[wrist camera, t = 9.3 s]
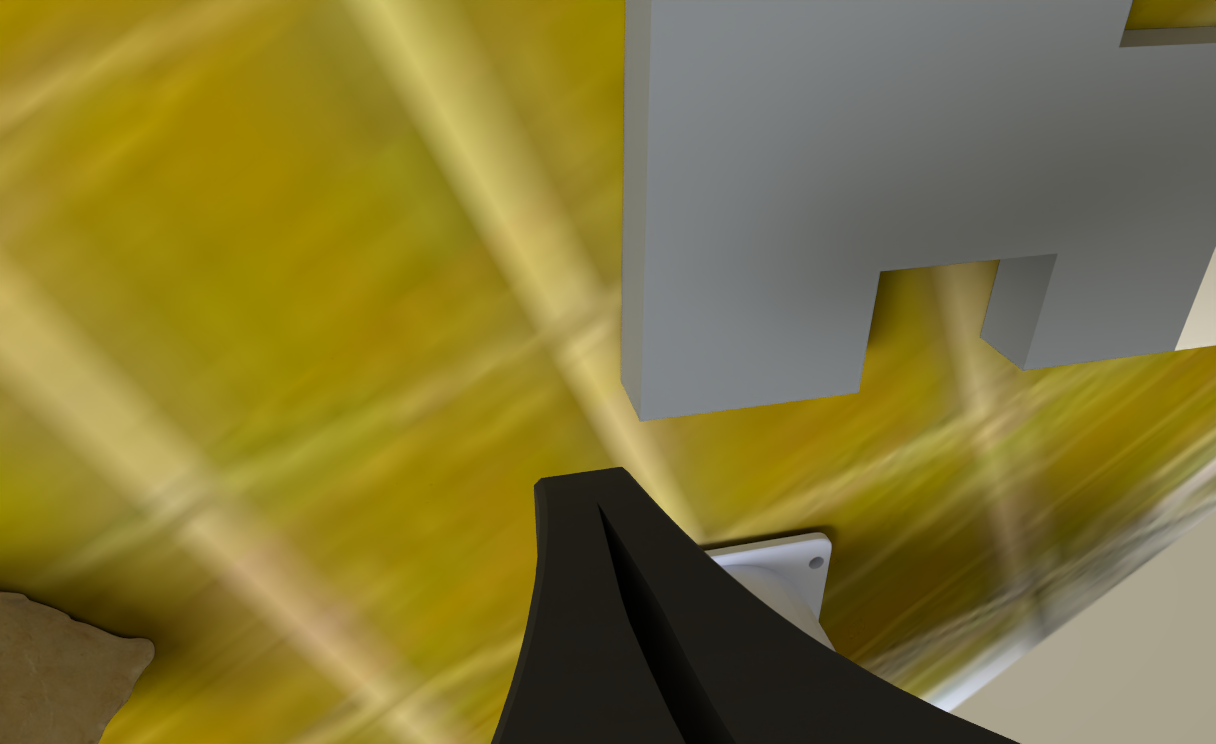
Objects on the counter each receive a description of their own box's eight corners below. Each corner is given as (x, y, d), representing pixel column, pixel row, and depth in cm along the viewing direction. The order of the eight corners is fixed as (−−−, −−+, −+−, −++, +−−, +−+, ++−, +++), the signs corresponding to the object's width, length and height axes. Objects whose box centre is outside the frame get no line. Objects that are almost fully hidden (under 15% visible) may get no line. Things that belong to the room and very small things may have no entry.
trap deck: (1306, 297, 28) (1454, 365, 24) (620, 380, 23) (669, 482, 19) (1508, -132, 21) (1750, -132, 18) (627, -135, 17) (700, -134, 13)
